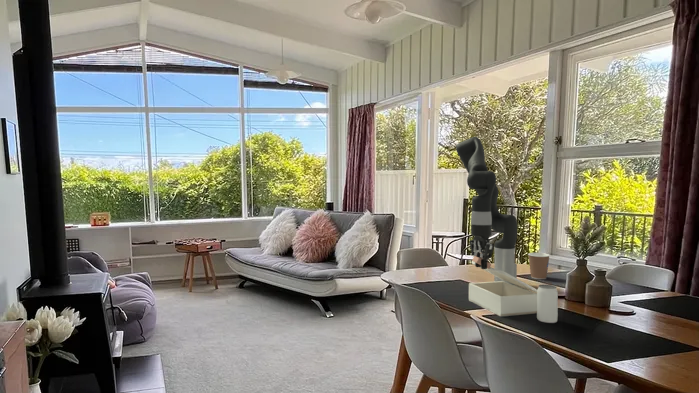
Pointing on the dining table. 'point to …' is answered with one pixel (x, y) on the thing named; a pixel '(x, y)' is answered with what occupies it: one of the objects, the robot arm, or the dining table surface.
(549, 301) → the can
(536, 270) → the coffee cup
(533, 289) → the mailer lid
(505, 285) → the box
